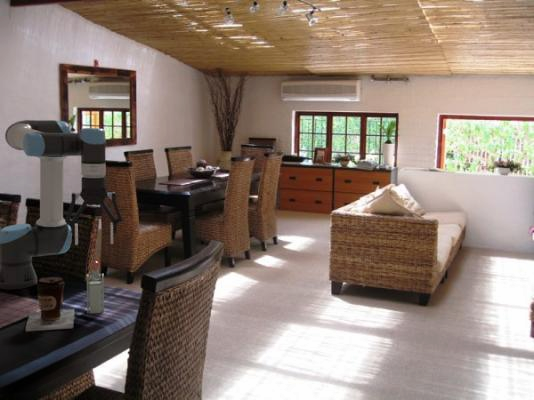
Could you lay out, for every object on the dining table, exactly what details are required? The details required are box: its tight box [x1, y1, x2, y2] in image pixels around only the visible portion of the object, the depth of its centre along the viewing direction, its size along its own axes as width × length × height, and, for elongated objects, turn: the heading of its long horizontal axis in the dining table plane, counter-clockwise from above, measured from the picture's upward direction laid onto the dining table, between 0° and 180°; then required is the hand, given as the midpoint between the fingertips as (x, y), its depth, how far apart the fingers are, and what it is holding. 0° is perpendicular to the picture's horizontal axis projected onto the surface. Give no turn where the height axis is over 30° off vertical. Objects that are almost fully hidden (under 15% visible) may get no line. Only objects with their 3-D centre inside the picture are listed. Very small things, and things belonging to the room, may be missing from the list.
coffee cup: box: [36, 276, 65, 320], centre depth 189 cm, size 9×8×13 cm
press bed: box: [25, 308, 75, 332], centre depth 191 cm, size 14×14×2 cm
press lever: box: [89, 260, 102, 282], centre depth 195 cm, size 15×4×3 cm
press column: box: [86, 273, 105, 314], centre depth 201 cm, size 4×6×13 cm
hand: (94, 243), depth 191 cm, fingers open, 10 cm apart
